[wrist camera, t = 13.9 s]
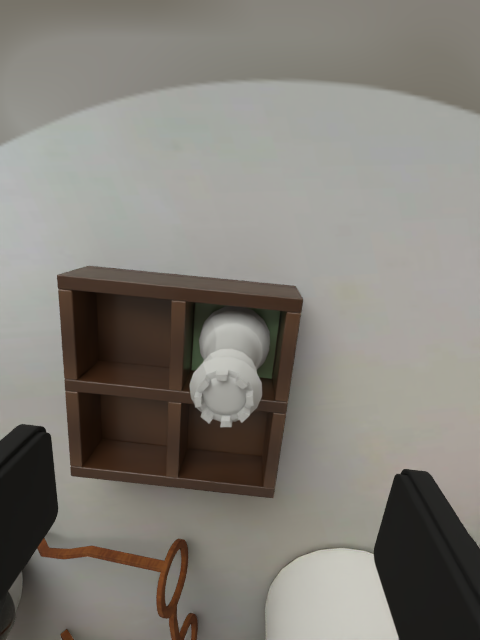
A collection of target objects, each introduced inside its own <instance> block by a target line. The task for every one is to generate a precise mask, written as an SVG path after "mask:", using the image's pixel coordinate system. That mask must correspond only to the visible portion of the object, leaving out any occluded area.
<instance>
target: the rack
mask: <svg viewBox="0 0 480 640" xmlns="http://www.w3.org/2000/svg"><path fill="white" fill-rule="evenodd" d="M57 281H58V289H59V290H58V292H59V306H60V320H61V335H62V349H63V364H64V378H65V391H66V392H65V393H66V408H67V422H68V436H69V451H70V465H71V476H76V477H86V478H95V479H104V480H113V481H122V482H131V483H140V484H149V485H158V486H167V487H176V488H185V489H194V490H203V491H212V492H222V493H231V494H240V495H249V496H258V497H267V498H273V497H274V492H275V485H276V478H277V471H278V465H279V458H280V451H281V444H282V438H283V431H284V424H285V418H286V411H287V404H288V402H287V401H288V397H289V391H290V384H291V377H292V370H293V364H294V357H295V350H296V344H297V337H298V330H299V323H300V317H301V311H302V304H303V298H302V297H301V295H300V293H299V291H298V289H297V288H296V286H289V285H279V284H269V283H259V282H249V281H238V280H228V279H218V278H208V277H197V276H187V275H177V274H167V273H157V272H146V271H136V270H126V269H116V268H105V267H95V266H87V267H83V268H79V269H76V270H72V271H69V272H65V273H62V274H59V275H57ZM226 306H236V307H245V308H248V309H251V310H253V311H254V312H256V313H257V314H258V315H259V316H260V317H261V318H262V319H264V321H265V323H266V325H267V327H268V329H269V332H270V346H269V352H268V355H267V357H266V360H265V362H264V363H263V364H262V365H261V366H260V367H259V368H258V369H257V375H258V377H259V379H260V381H261V383H262V397H261V400H260V402H259V405H258V407H257V408H256V409H255V410H254V411H253V412H252V413H251V414H250V416H249V417H248V418H247V419H246V420H244V421H243V422H241V421H240V420H238V421H235V422H232V427H220V425H221V422H220V421H217V420H214V419H212V421H211V422H210V424H209V423H208V422H207V421H205V420H204V419H203V418H201V414H202V412H201V411H199V410H198V409H197V407H196V408H195V404H194V402H193V400H192V399H191V394H190V382H191V379H192V376H193V373H194V372H195V371H196V370H197V369H198V368H199V366H200V365H201V364H202V363H203V361H204V359H203V357H202V356H201V353H200V345H199V338H200V333H201V330H202V327H203V324H204V322H205V321H206V320H207V318H208V317H209V316H210V315H211V314H212V313H213V312H215V311H217V310H219V309H221V308H223V307H226Z"/></svg>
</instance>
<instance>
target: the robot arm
mask: <svg viewBox="0 0 480 640" xmlns="http://www.w3.org/2000/svg"><path fill="white" fill-rule="evenodd" d="M57 513H58V502H57V492H56V482H55V472H54V462H53V452H52V442H51V435H50V434H49V433H46V429H45V428H44V427H42V426H33V425H25V424H21V425H19V426H17V427H16V428H14V429H13V430H12V431H11V432H10V433H9V434H8V435H6V436H5V437H4V438H3V439H2V440H1V441H0V602H1V601H2V599H3V598H4V597H5V595H6V594H7V592H8V591H9V589H10V588H11V586H12V585H13V583H14V582H15V580H16V579H17V577H18V576H19V574H20V573H21V571H22V570H23V568H24V567H25V565H26V564H27V562H28V561H29V559H30V558H31V556H32V555H33V553H34V552H35V550H36V549H37V547H38V546H39V544H40V543H41V541H42V540H43V538H44V537H45V535H46V534H47V532H48V531H49V530H50V528H51V527H52V525H53V523H54V522H55V519H56V517H57ZM374 561H375V566H376V569H377V572H378V575H379V578H380V581H381V584H382V588H383V591H384V594H385V597H386V600H387V603H388V606H389V609H390V613H391V616H392V619H393V622H394V625H395V628H396V631H397V634H398V638H399V640H480V548H479V547H478V545H477V544H476V542H475V541H474V540H473V539H472V537H471V536H470V535H469V534H468V532H467V530H466V529H465V527H464V526H463V524H462V523H461V521H460V520H459V518H458V516H457V515H456V513H455V512H454V510H453V509H452V507H451V506H450V504H449V502H448V501H447V499H446V498H445V496H444V495H443V493H442V491H441V490H440V488H439V487H438V485H437V484H436V482H435V481H434V479H433V477H432V476H431V475H430V474H429V473H428V472H426V471H417V470H409V469H404V470H403V471H402V472H401V474H396V475H395V477H394V480H393V484H392V487H391V491H390V494H389V498H388V501H387V505H386V508H385V512H384V515H383V519H382V522H381V526H380V529H379V533H378V536H377V540H376V543H375V547H374Z"/></svg>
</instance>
